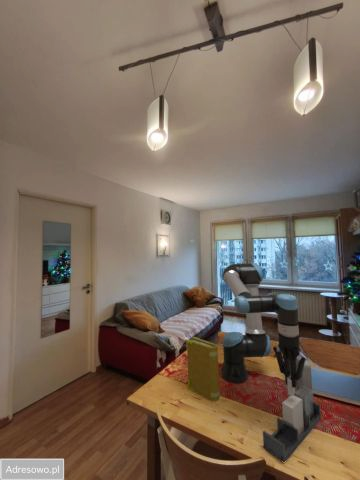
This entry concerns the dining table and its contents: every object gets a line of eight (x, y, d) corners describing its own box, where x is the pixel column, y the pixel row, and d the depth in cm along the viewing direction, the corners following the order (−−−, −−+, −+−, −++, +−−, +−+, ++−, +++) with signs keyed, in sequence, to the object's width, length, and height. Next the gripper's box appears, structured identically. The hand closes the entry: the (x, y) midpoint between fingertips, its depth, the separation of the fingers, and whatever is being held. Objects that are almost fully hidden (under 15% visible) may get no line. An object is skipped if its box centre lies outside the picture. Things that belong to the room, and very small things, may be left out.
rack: (263, 447, 78) (261, 414, 79) (301, 408, 97) (300, 382, 97) (284, 463, 72) (282, 427, 73) (320, 418, 91) (318, 390, 91)
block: (283, 432, 84) (282, 402, 84) (293, 422, 88) (291, 394, 89) (294, 439, 80) (292, 408, 81) (303, 428, 85) (302, 399, 86)
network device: (319, 411, 95) (316, 364, 96) (297, 409, 97) (295, 363, 98) (299, 378, 120) (297, 341, 121) (282, 376, 122) (280, 340, 123)
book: (187, 389, 113) (186, 340, 115) (195, 383, 118) (194, 336, 120) (214, 403, 102) (212, 349, 103) (222, 396, 106) (220, 344, 108)
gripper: (268, 331, 90) (271, 389, 89) (301, 341, 79) (304, 407, 78) (277, 327, 94) (280, 382, 93) (309, 336, 84) (313, 398, 83)
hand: (291, 393), depth 86 cm, fingers closed
